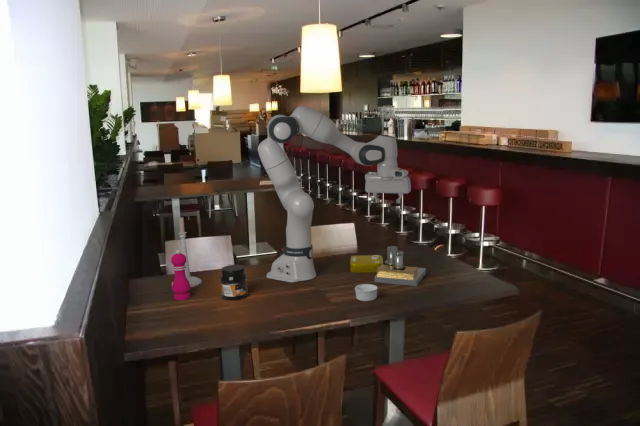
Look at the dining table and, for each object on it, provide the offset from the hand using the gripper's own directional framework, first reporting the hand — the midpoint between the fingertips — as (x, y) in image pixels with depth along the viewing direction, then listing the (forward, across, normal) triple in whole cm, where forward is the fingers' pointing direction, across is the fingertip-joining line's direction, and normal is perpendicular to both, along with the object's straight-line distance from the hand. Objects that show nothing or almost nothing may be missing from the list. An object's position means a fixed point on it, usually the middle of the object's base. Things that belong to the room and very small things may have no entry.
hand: (387, 203), depth 233 cm
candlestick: (+31, -79, -44) cm, 96 cm away
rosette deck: (+31, +8, -9) cm, 33 cm away
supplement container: (+31, -49, -52) cm, 78 cm away
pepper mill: (+31, -69, -60) cm, 97 cm away
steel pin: (+31, +8, -11) cm, 34 cm away
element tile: (+32, -11, +2) cm, 34 cm away
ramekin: (+32, +2, -37) cm, 49 cm away
